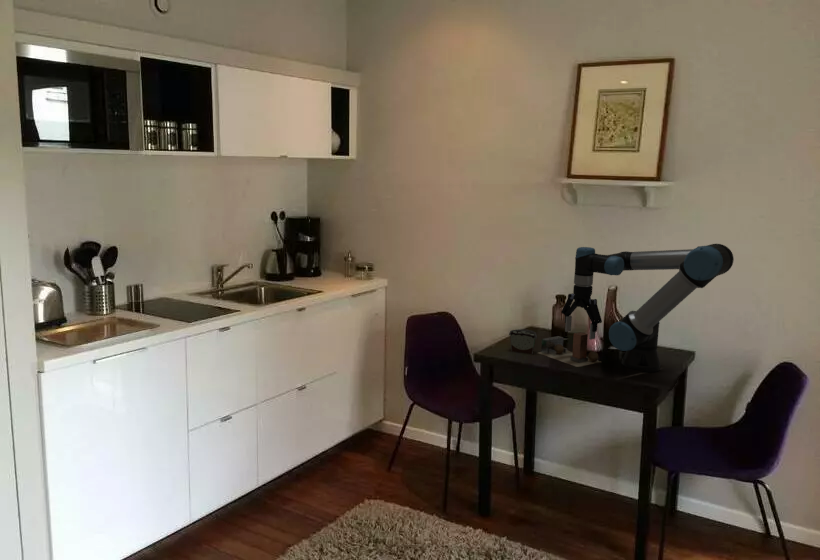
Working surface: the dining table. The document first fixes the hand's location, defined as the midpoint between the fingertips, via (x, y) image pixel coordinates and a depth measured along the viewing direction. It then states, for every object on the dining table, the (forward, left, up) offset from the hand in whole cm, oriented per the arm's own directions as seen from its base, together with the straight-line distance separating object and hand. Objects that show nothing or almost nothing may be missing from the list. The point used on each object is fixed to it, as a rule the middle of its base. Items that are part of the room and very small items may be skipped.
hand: (579, 335), depth 287 cm
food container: (+23, +10, -12) cm, 28 cm away
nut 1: (+12, 0, -11) cm, 16 cm away
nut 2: (-4, -5, -11) cm, 12 cm away
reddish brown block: (0, 0, -11) cm, 11 cm away
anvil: (+14, 0, -11) cm, 18 cm away
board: (+6, 0, -12) cm, 13 cm away
